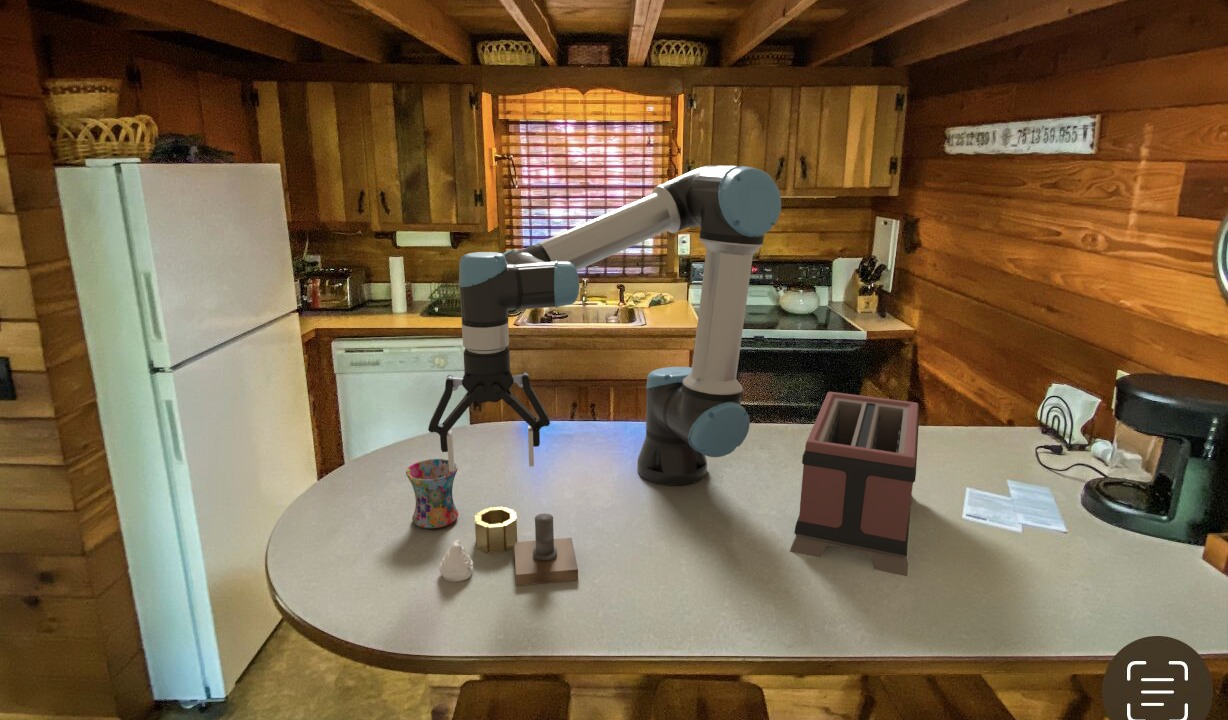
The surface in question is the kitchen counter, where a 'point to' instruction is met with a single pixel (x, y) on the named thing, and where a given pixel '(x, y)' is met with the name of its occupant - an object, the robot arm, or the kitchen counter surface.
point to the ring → (495, 529)
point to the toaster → (859, 479)
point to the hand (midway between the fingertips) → (491, 465)
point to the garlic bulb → (456, 564)
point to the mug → (433, 493)
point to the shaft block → (545, 556)
